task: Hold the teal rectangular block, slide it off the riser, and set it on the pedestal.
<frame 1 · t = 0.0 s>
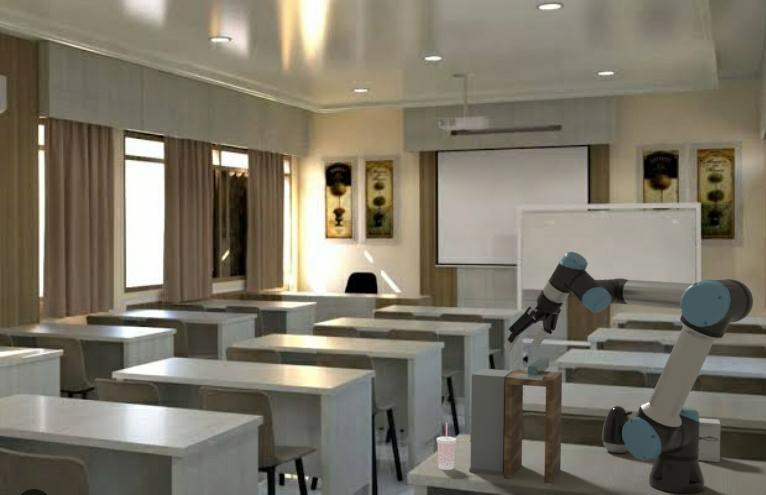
hand: (520, 347, 278), 36 cm above the table, tool tilted 35°, fingers open, 13 cm apart
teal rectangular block: (538, 371, 268), point 30 cm above the table, touching riser
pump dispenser: (617, 452, 290), on the table
supplement box: (707, 459, 282), on the table
riser: (532, 473, 262), on the table
rubber stamp: (479, 440, 305), on the table
pedestal: (491, 468, 268), on the table
fruit: (661, 456, 285), on the table
beverage cup: (446, 468, 268), on the table
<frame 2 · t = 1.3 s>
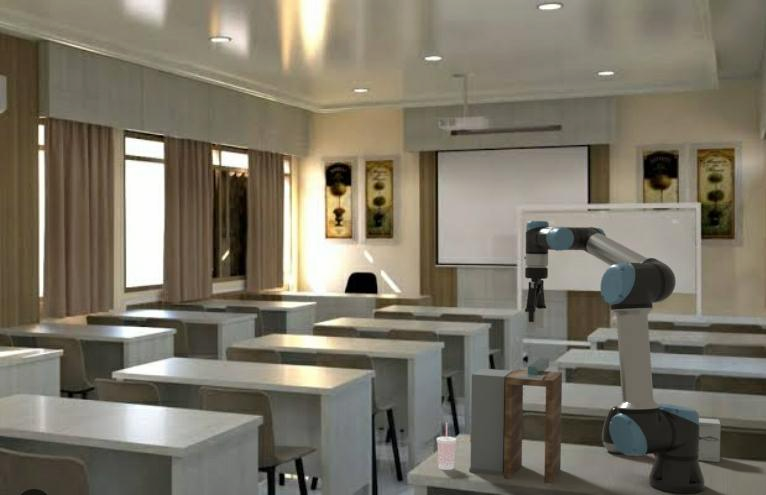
hand: (535, 329, 293), 40 cm above the table, tool pointing down, fingers open, 13 cm apart
nothing on the table moved.
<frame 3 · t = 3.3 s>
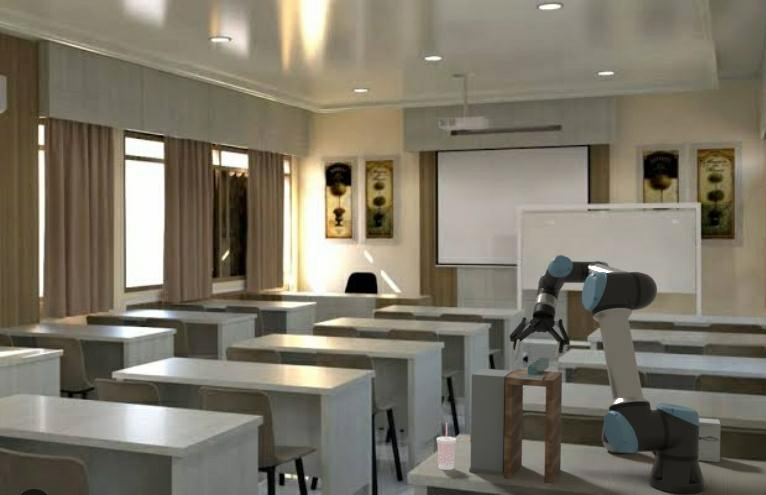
hand: (535, 358, 290), 31 cm above the table, tool tilted 45°, fingers open, 13 cm apart
nothing on the table moved.
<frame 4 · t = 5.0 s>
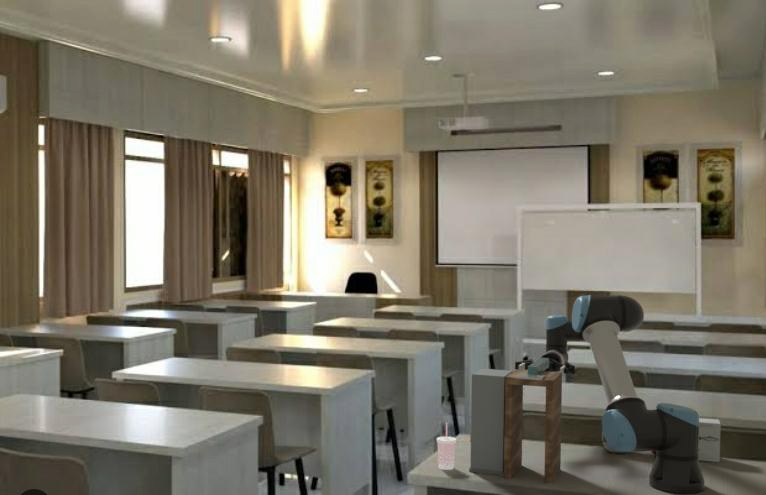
hand: (540, 371, 287), 27 cm above the table, tool horizontal, fingers open, 13 cm apart
nothing on the table moved.
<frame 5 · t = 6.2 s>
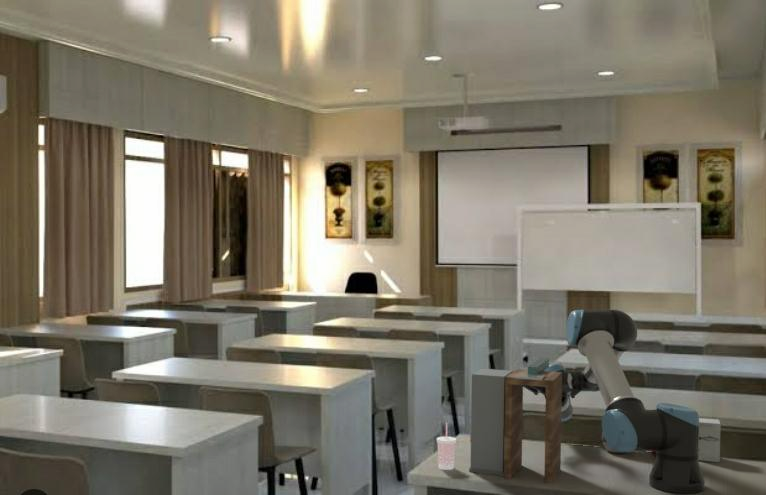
hand: (547, 375, 283), 26 cm above the table, tool pointing upward, fingers open, 13 cm apart
nothing on the table moved.
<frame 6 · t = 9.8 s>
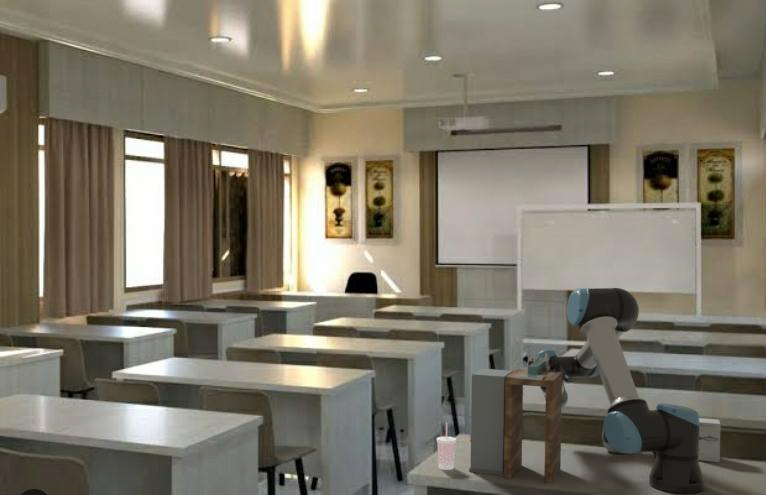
hand: (540, 356, 270), 34 cm above the table, tool pointing upward, fingers closed on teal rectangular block, 3 cm apart
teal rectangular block: (538, 371, 268), point 30 cm above the table, touching gripper, riser
everything else where it was.
when the fingers open (35 cm above the table, at t = 16.7 s): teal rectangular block drops 1 cm, resting on pedestal.
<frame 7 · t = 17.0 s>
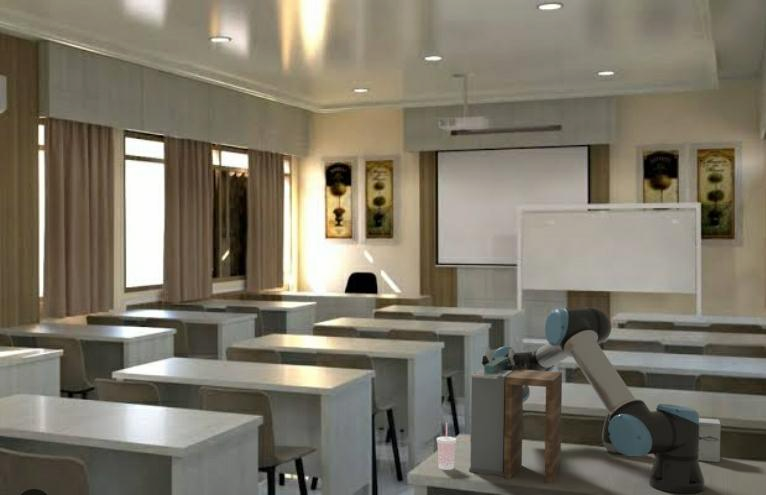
hand: (498, 352, 274), 35 cm above the table, tool pointing upward, fingers open, 7 cm apart
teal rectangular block: (496, 370, 272), point 30 cm above the table, touching pedestal
everything else where it was.
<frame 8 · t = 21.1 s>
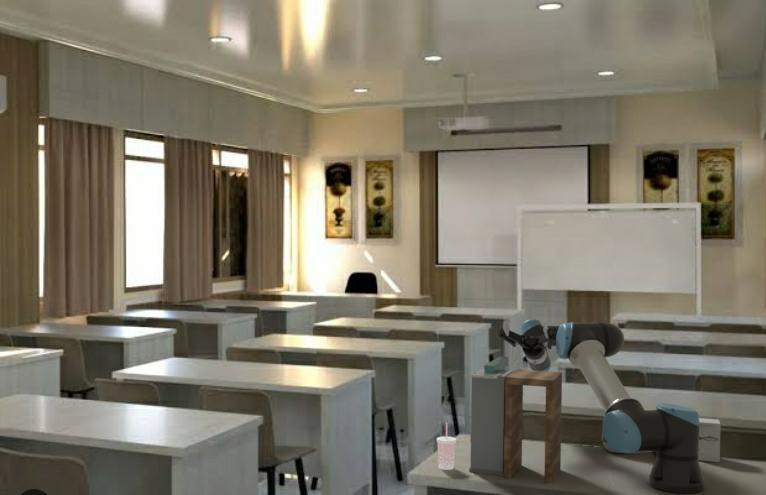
hand: (524, 325, 291), 42 cm above the table, tool pointing upward, fingers open, 13 cm apart
nothing on the table moved.
at the end: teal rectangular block inside the target area on the pedestal (1.6 cm from its centre), point 29.6 cm above the pedestal's base; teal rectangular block touching pedestal; the gripper is holding nothing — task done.
